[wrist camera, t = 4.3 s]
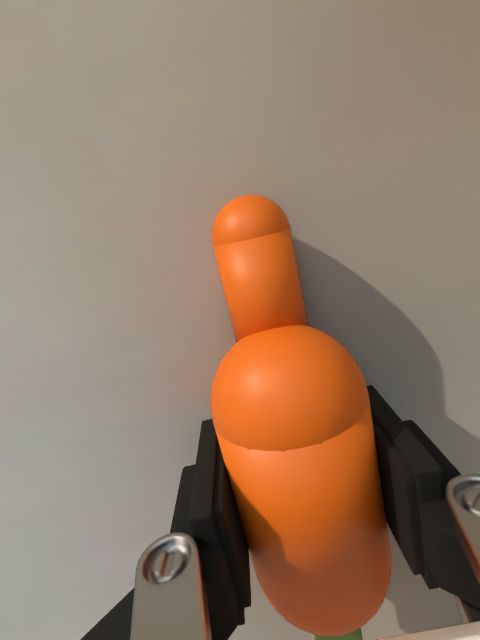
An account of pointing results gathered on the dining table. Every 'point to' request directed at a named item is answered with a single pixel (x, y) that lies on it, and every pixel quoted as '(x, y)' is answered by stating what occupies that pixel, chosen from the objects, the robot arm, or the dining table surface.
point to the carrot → (296, 436)
